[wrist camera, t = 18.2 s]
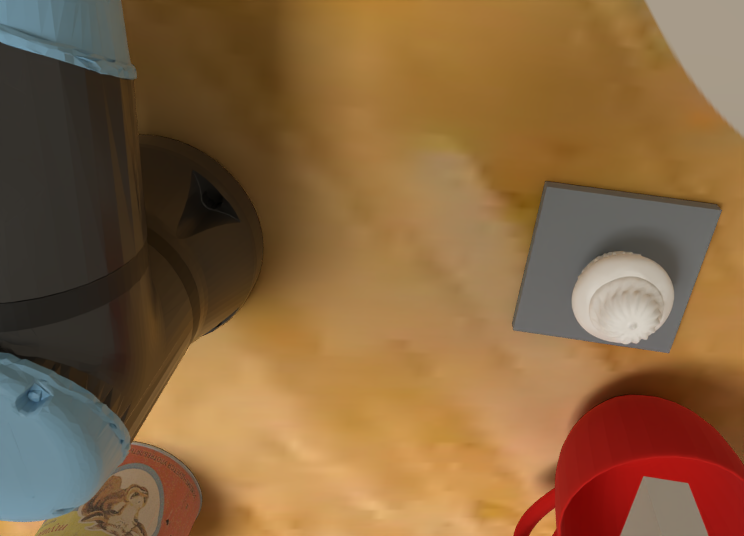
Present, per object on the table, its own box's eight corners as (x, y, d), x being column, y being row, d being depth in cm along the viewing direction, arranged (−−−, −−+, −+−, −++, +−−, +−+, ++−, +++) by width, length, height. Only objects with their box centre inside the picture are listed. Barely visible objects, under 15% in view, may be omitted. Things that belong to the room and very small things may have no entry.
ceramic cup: (467, 424, 56) (468, 523, 47) (671, 331, 50) (716, 424, 41) (548, 527, 60) (563, 636, 51) (746, 452, 54) (801, 560, 45)
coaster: (512, 322, 51) (513, 330, 50) (545, 181, 46) (546, 186, 45) (665, 345, 50) (669, 353, 49) (716, 204, 45) (721, 210, 44)
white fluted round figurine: (548, 257, 47) (561, 311, 41) (636, 214, 45) (664, 265, 39) (589, 326, 49) (607, 387, 43) (674, 288, 47) (706, 347, 41)
